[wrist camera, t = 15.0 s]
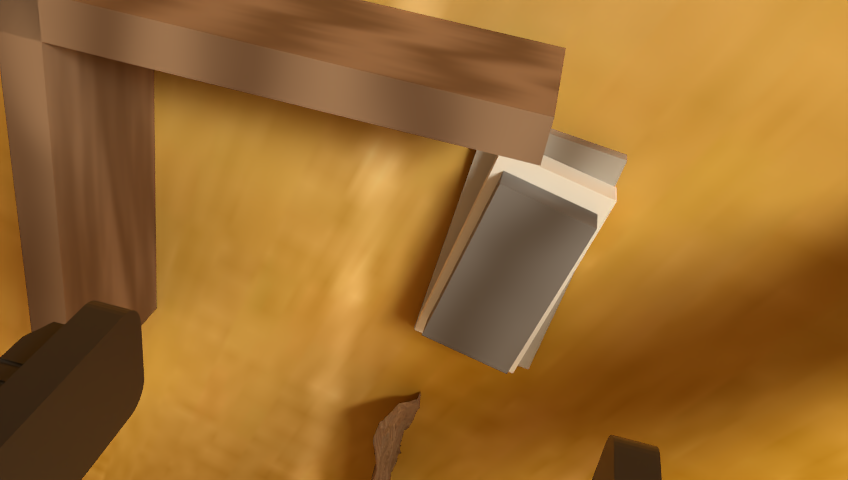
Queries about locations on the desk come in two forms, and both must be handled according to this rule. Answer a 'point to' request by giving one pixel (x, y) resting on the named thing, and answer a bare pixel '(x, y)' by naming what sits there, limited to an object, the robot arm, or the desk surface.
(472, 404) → the desk surface
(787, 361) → the desk surface
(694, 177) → the desk surface
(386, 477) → the wood plank
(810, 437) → the desk surface
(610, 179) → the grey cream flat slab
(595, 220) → the grey rectangular block
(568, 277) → the white offcut
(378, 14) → the walnut rack
